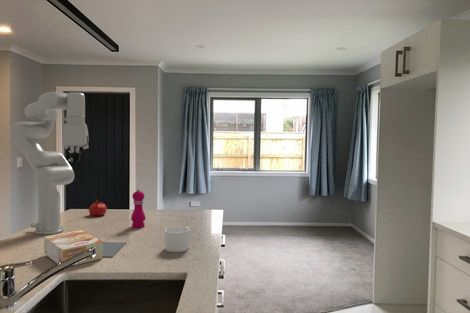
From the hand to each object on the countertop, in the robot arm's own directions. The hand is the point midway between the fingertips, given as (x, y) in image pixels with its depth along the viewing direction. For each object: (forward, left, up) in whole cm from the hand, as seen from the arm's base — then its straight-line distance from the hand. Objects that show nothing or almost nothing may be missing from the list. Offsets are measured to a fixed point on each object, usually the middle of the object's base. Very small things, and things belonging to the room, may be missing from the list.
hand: (76, 161), depth 166 cm
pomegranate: (-8, +50, -35) cm, 62 cm away
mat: (+14, -16, -35) cm, 41 cm away
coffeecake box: (+2, -19, -31) cm, 36 cm away
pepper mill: (+22, +24, -35) cm, 48 cm away
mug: (+48, -12, -35) cm, 61 cm away
